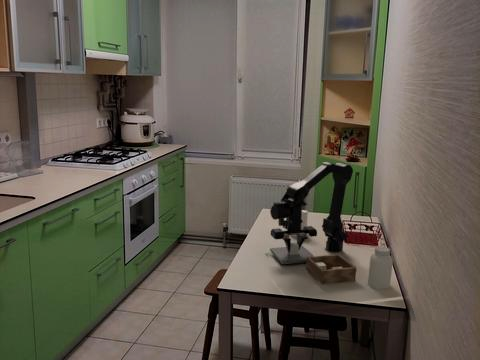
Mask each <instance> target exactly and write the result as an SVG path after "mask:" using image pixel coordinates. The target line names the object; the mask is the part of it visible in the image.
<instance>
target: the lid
mask: <svg viewBox="0 0 480 360" xmlns="http://www.w3.org/2000/svg"><path fill="white" fill-rule="evenodd" d="M269 251H270V253H271V252H272V253H273V255H274V256H273V257H275V258H276V259H277V260H278V262H280V263H281V264H282V265H288V264H301V263H307V257H313V256H315V255H314V254H313V253H311V251H309V249H307V248H306V247H305V246H304V245H302V246H301V247H300V249H299V245H298V244H297V241H295V242H291V245H290V253H289V252H288V251H287V247H286V246H282V247H270V248H269Z"/></svg>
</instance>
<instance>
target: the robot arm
mask: <svg viewBox="0 0 480 360" xmlns="http://www.w3.org/2000/svg"><path fill="white" fill-rule="evenodd" d="M353 172H354V168H353V166H351V165H350V164H346V163H342V162H337V163H331V162H328V161H325V162H322V163H321V165H320V166H319V167H317V168H316V169H315V170H313V171H312V172H311V173H309V174H308V176H306V177H305V178H303V179H302V180H301V181H298V182H294V183H293V184H290V185H289V186H288V187H287V188H286V191H285V193H284V194H283V196H282V198H281V199H280V202H273V205H272V206H271V208H270V216H271V218H272V219H273V220H275V221H277V220H278V221H277V223H278V227H279V228H272V229H271V230H270V236H271V237H272V238H273V239H274V240H283V241H284V243H285V247H287V251H288V252H289V253H290V245H291V243H292V239H291V237H290V236H291V235H297V237H296V243H297V244H298V245H299V249H300V247H301V246H303V244H304V242H305V241H306V240H307V239H308V238H309V237H318V231H317V229H316V228H315V227H314V226H312V225H309V226H308V225H307V226H306V227H304V228H303V229H301V223H303V220H301V219H302V210H303V206H304V207H305V206H307V205H308V203H307V202H305V199H306V197H308V195H309V193H310V191H311V190H312V188H314V187H315V186H317V185H318V184H319V182H321V181H323V180H324V179H325V178H326V177H327V176H328V175H329V174H331V173H332V175H331V176H332V179H333V182H334V185H333V191H332V196H331V202H330V207H329V214H328V215H327V216H326V218H323V219H322V225H321V228H322V231H323V233H324V235H325V237H326V238H327V240H326V242H325V248H324V250H325V251H326V252H330V253H340V252H344V253H345V251H343V249H344V242H345V241H347V238H348V235H347V234H346V233H345V232H344V229H343V225H344V224H343V221H342V217H341V216H342V211H343V205H344V200H345V194H346V188H347V185H348V183H350V182H351V180H352V177H353ZM280 227H282V228H283V229H285V230H282V228H280ZM308 236H309V237H308Z"/></svg>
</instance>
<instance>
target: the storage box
mask: <svg viewBox="0 0 480 360" xmlns="http://www.w3.org/2000/svg"><path fill="white" fill-rule="evenodd" d="M317 262H323V263H324V264H325V265H326V270H323V269H321V268H320V267H319V266H318V265H317V264H316V263H317ZM305 263H306V266H305V269H306V271H307V272H308V273H309V274H310V275H311V276H312V277H313V278H314V279H315V280H316V281H318V283H319V284H320V285H327V284H328V285H329V284H338V283H347V282H348V283H349V282H356V278H357V277H356V275H357V267H356V266H355V265H353V264H352V263H351V262H350V261H348V260H347V259H346V258H345V257H343V256H342V255H341V254H339V253H335V254H328V255H327V254H326V255H316V256H315V255H314V256H313V257H307V262H305ZM332 267H342V268H340V269H332Z"/></svg>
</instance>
